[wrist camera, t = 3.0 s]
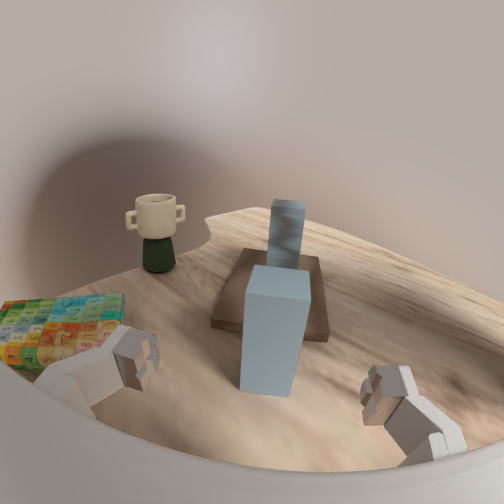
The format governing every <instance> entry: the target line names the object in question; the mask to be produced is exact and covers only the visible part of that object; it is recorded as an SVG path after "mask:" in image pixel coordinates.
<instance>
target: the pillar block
mask: <svg viewBox="0 0 504 504" xmlns="http://www.w3.org/2000/svg"><path fill="white" fill-rule="evenodd" d="M310 304H311V290H310V276H309V271H304V270H295V269H287V268H278V267H270V266H262V265H254V268H253V271H252V274H251V277H250V280H249V283H248V286H247V289H246V292H245V306H244V323H243V339H242V356H241V374H240V391H244V392H250V393H257V394H264V395H272V396H281V397H289V393H290V390H291V386H292V382H293V378H294V374H295V370H296V366H297V362H298V358H299V354H300V350H301V345H302V341H303V337H304V332H305V328H306V323H307V318H308V314H309V309H310Z"/></svg>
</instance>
